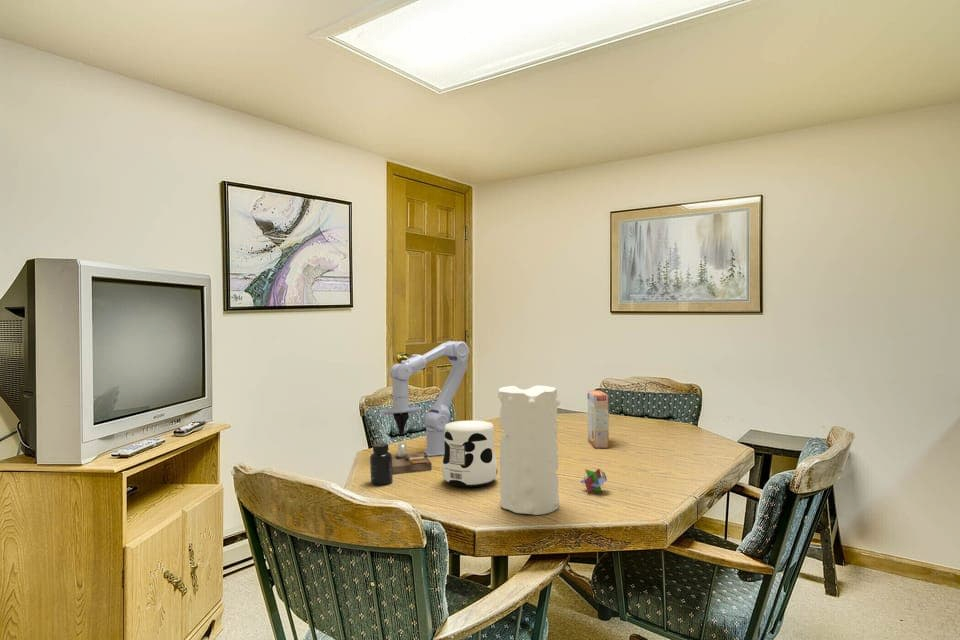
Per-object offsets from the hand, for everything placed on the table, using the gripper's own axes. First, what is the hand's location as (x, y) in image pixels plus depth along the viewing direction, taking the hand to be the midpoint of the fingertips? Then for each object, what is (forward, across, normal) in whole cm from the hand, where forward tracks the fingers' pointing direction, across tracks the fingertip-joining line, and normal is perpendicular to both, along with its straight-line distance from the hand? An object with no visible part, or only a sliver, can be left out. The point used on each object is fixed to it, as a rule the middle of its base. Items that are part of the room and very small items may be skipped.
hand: (401, 433), depth 197 cm
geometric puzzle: (+10, -46, +58) cm, 75 cm away
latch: (+7, -3, +15) cm, 17 cm away
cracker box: (+10, -78, +7) cm, 79 cm away
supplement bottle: (+10, +11, +26) cm, 30 cm away
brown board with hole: (+9, 0, +10) cm, 14 cm away
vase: (+10, -24, +62) cm, 67 cm away
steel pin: (+9, +1, +7) cm, 12 cm away
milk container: (+10, -15, +36) cm, 40 cm away
